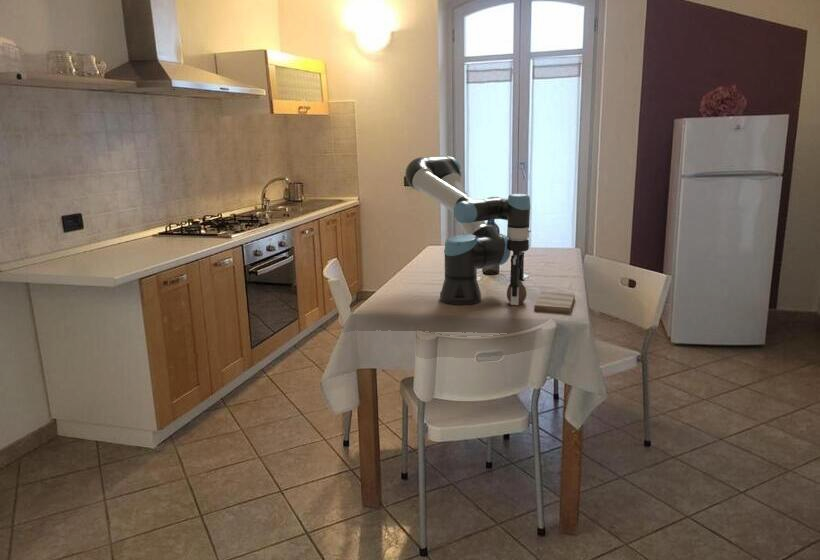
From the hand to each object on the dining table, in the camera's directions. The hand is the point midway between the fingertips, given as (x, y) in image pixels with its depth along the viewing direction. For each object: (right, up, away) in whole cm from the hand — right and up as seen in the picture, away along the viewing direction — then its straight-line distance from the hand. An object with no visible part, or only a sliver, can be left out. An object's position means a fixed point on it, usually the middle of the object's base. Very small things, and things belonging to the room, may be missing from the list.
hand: (516, 301), depth 221 cm
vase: (0, -1, 0) cm, 1 cm away
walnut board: (+13, -1, -3) cm, 13 cm away
